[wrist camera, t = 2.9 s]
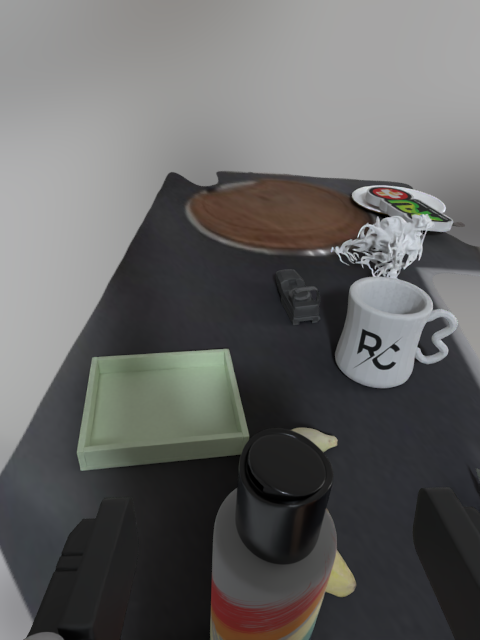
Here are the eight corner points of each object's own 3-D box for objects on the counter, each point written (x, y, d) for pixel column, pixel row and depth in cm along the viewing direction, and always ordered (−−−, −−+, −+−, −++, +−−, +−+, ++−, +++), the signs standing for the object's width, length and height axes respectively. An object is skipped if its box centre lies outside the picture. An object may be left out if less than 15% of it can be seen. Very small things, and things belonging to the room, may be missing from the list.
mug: (332, 384, 52) (348, 310, 46) (334, 338, 59) (348, 270, 53) (445, 403, 50) (476, 329, 44) (432, 353, 57) (457, 285, 52)
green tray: (80, 471, 40) (76, 452, 39) (95, 374, 51) (92, 357, 50) (247, 454, 43) (249, 436, 41) (227, 365, 54) (228, 348, 52)
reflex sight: (297, 286, 70) (299, 256, 67) (320, 321, 62) (323, 290, 59) (273, 288, 69) (274, 259, 67) (292, 325, 61) (295, 293, 58)
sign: (459, 222, 86) (413, 224, 84) (456, 231, 87) (410, 233, 85) (398, 186, 104) (359, 186, 102) (396, 193, 105) (357, 194, 102)
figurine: (448, 215, 70) (431, 286, 74) (361, 203, 80) (350, 267, 83) (417, 215, 61) (399, 296, 65) (323, 202, 70) (312, 274, 74)
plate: (369, 221, 93) (370, 216, 93) (339, 189, 111) (340, 184, 110) (463, 222, 96) (464, 216, 95) (419, 190, 113) (421, 185, 112)
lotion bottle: (195, 639, 30) (193, 430, 19) (269, 598, 32) (305, 391, 21) (234, 741, 26) (260, 552, 15) (315, 686, 28) (392, 486, 17)
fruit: (252, 593, 33) (255, 569, 31) (263, 433, 45) (266, 409, 43) (352, 606, 32) (361, 582, 30) (335, 441, 45) (341, 418, 43)
